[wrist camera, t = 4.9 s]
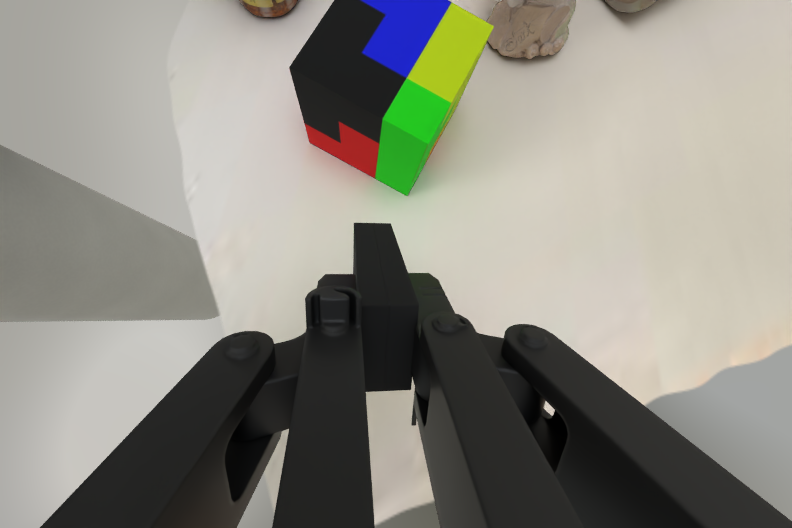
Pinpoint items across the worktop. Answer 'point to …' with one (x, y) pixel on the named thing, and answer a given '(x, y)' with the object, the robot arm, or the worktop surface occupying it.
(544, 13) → the figurine
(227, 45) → the worktop surface
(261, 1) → the sauce bottle
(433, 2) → the puzzle toy
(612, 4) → the decorative bottle
